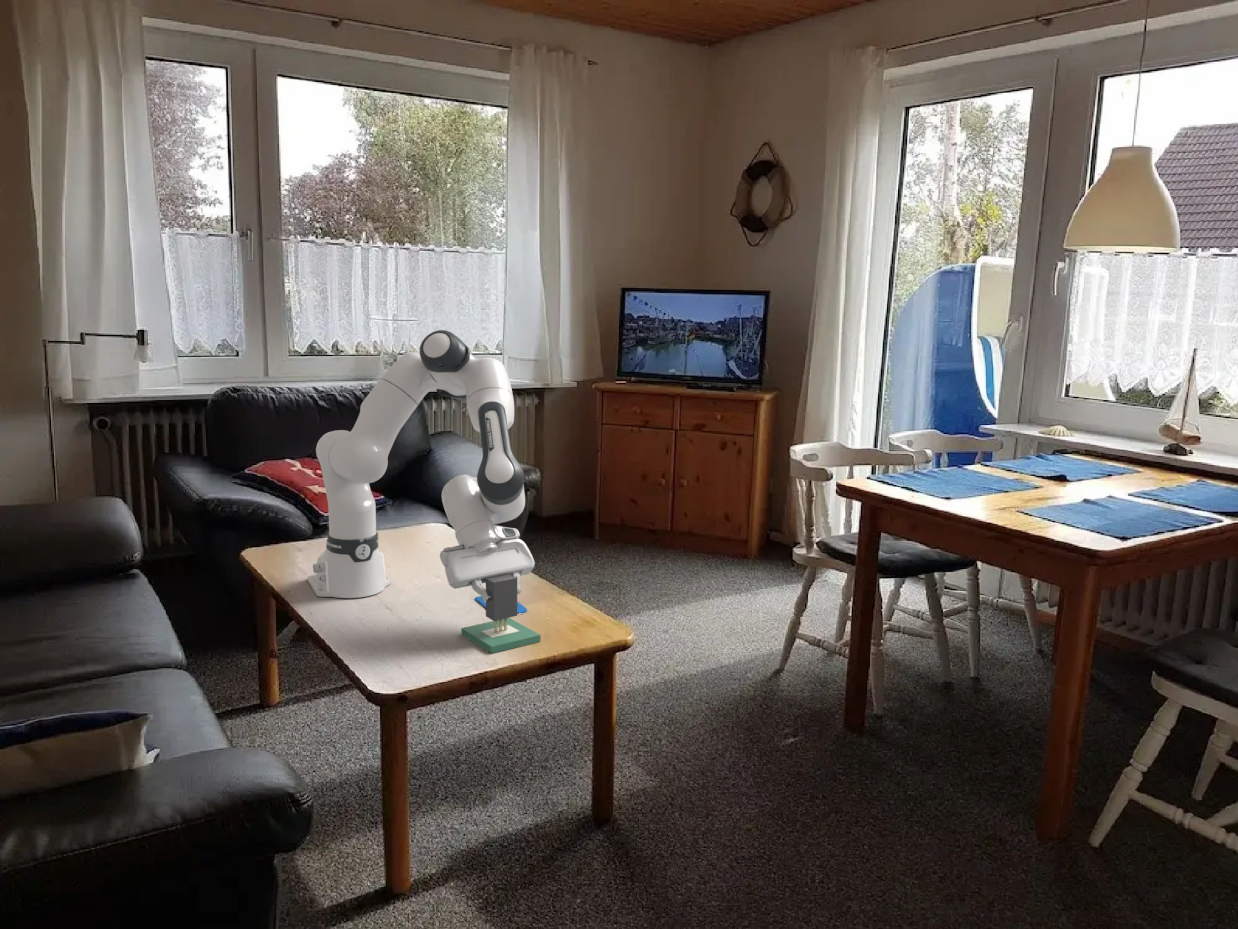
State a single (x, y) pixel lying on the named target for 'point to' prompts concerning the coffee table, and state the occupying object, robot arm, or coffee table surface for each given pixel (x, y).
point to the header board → (500, 635)
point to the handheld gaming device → (519, 607)
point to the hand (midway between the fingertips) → (502, 596)
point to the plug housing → (502, 597)
